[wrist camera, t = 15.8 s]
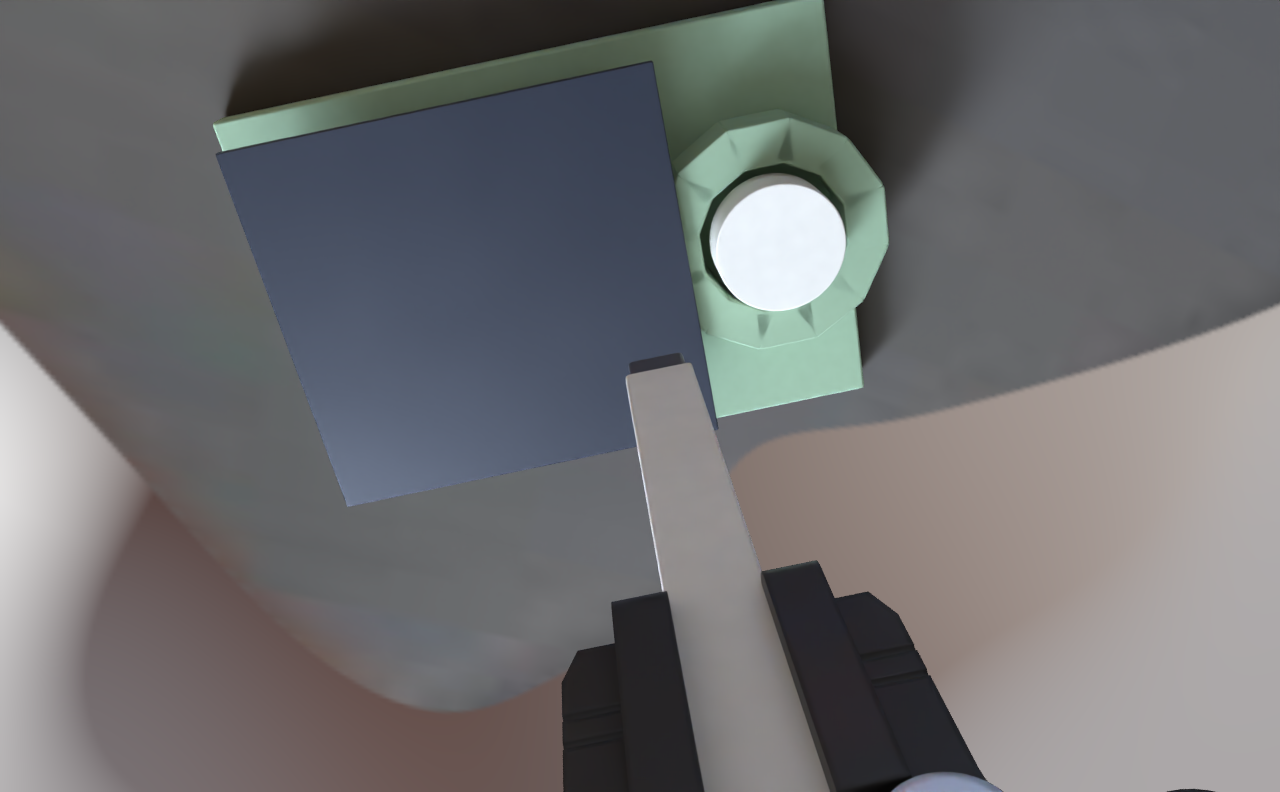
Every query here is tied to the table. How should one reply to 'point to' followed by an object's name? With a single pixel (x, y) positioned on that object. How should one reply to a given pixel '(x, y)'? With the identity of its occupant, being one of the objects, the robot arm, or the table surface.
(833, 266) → the button
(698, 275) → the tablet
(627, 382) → the grey square rod
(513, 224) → the tablet screen
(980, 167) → the table surface
